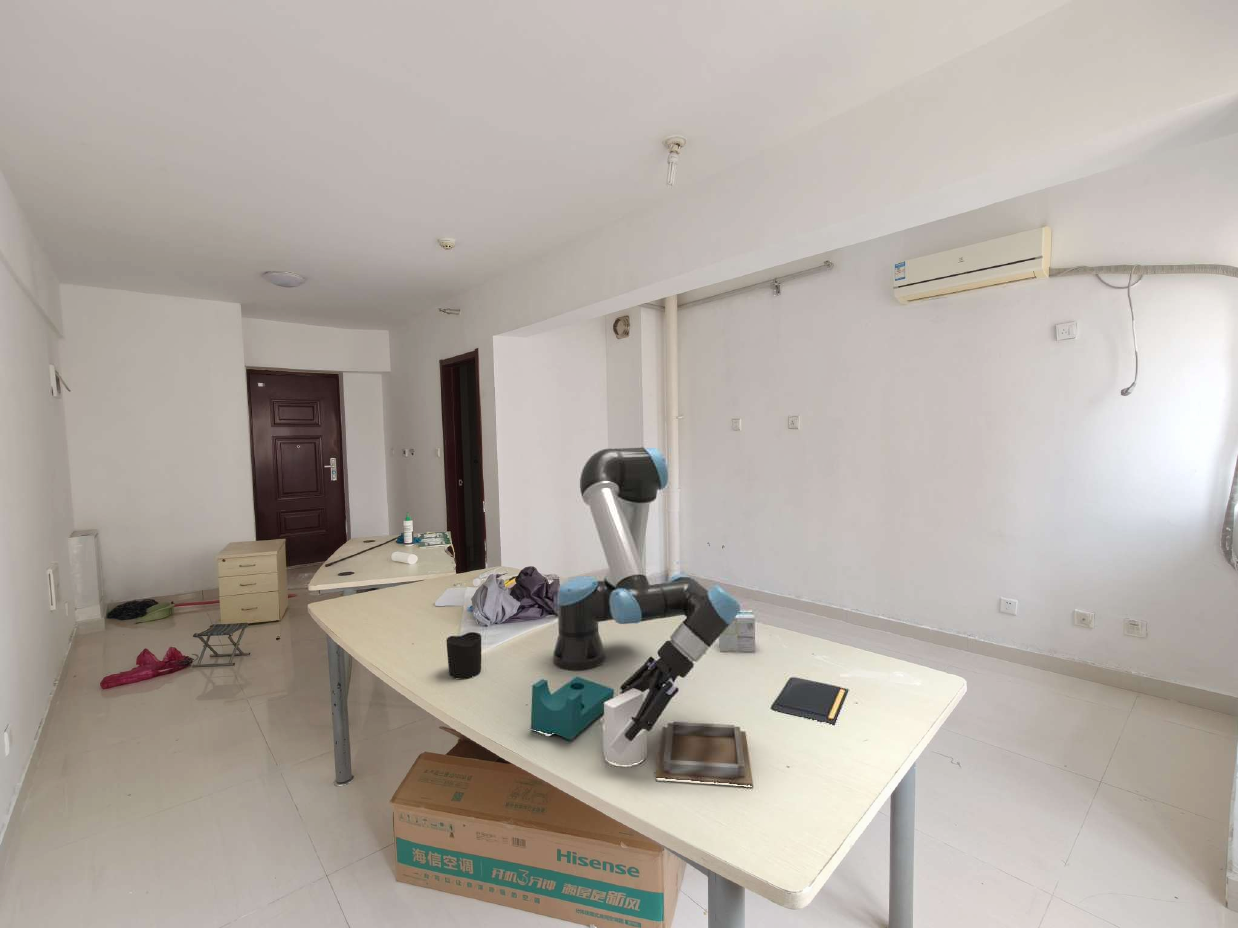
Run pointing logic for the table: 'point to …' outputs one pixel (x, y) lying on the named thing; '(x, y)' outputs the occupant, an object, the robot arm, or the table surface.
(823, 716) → the wallet
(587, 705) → the teal l-shaped bracket
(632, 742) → the cylinder with rectangular tab
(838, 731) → the table surface
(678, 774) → the plate
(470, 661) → the pen holder
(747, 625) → the light bulb box
